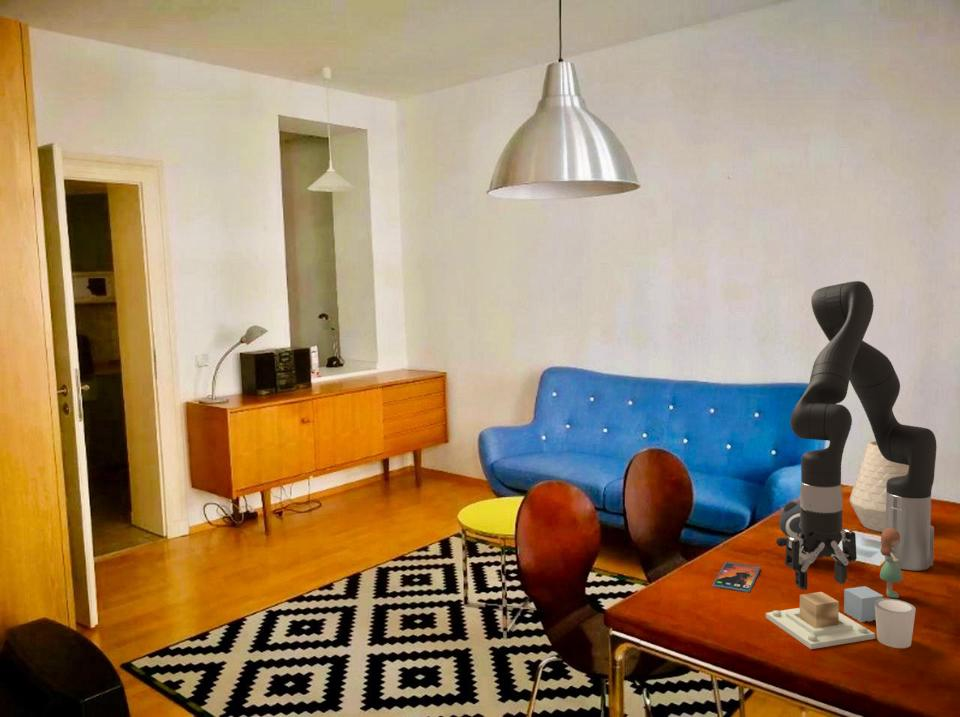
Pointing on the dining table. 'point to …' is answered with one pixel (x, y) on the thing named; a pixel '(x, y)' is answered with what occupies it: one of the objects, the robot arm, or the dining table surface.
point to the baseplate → (819, 629)
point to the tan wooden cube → (819, 610)
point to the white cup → (894, 622)
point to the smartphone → (737, 577)
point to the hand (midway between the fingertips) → (821, 585)
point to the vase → (874, 487)
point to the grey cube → (861, 603)
